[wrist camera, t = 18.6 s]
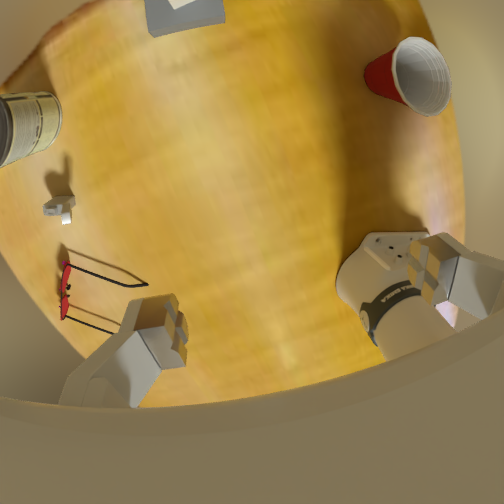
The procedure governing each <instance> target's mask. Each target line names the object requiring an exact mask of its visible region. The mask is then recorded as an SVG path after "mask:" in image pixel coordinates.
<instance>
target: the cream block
mask: <svg viewBox="0 0 504 504" xmlns="http://www.w3.org/2000/svg"><path fill="white" fill-rule="evenodd" d="M168 1H169V3H170V4H171V6H172V7H173V9H174V10H175V9H177V8H179V7H181V6H184V5H186V4H188V3H191V2H193V1H195V0H168Z"/></svg>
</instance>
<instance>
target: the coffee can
mask: <svg viewBox="0 0 504 504" xmlns="http://www.w3.org/2000/svg"><path fill="white" fill-rule="evenodd" d="M61 124H62V110H61V105H60V103H59V101H58V99H57V98H56V97H55V96H54V95H53V94H52V93H50V92H47V91H39V92H25V93H11V94H1V95H0V168H1V167H3V166H6V165H8V164H10V163H12V162H15V161H17V160H19V159H21V158H24V157H26V156H29V155H31V154H34V153H36V152H39V151H43V150H45V149H47V148H48V147H49V146H50V145H52V143H53V142H54V141H55V139H56V138H57V136H58V134H59V132H60V129H61Z"/></svg>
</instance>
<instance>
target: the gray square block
mask: <svg viewBox="0 0 504 504" xmlns="http://www.w3.org/2000/svg"><path fill="white" fill-rule="evenodd" d="M144 1H145V9H146V18H147V25H148V32H149V33H150V34H151V35H152V36H153V37H154V38H155V37H159V36H163V35H167V34H171V33H175V32H179V31H183V30H188V29H193V28H198V27H203V26H209V25H215V24H221V23H225V12H224V6H223V0H195V1H193V2H191V3H188V4H186V5H184V6H181V7H179V8H177V9H175V10H174V9H173V7H172V6H171V4H170V3H169V1H168V0H144Z"/></svg>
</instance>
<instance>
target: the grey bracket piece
mask: <svg viewBox="0 0 504 504" xmlns="http://www.w3.org/2000/svg"><path fill="white" fill-rule="evenodd" d="M75 205H76V203H75V196H55V197H54V198H52V199H51V200H50V201H48V202H47V203H45V204H44V205H43V212H44V215H47V216H55V215H61V217H62V224H63V225H64V224H70V223H71V220H72V210H71V208H73V207H74V206H75Z"/></svg>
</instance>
